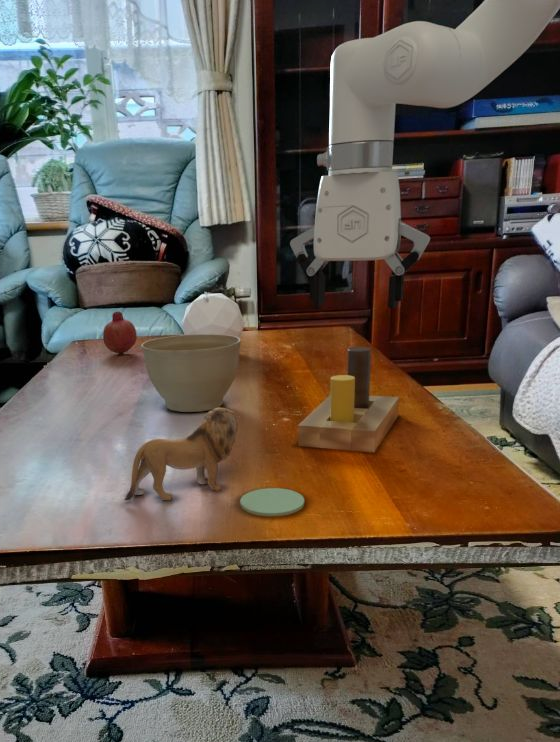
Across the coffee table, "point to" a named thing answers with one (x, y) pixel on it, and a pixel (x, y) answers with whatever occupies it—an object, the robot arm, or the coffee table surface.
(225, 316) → the geodesic sphere
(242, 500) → the coaster
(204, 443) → the lion figurine
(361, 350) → the walnut peg
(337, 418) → the yellow peg
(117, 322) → the fruit
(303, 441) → the stand
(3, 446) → the coffee table surface
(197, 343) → the planter bowl
